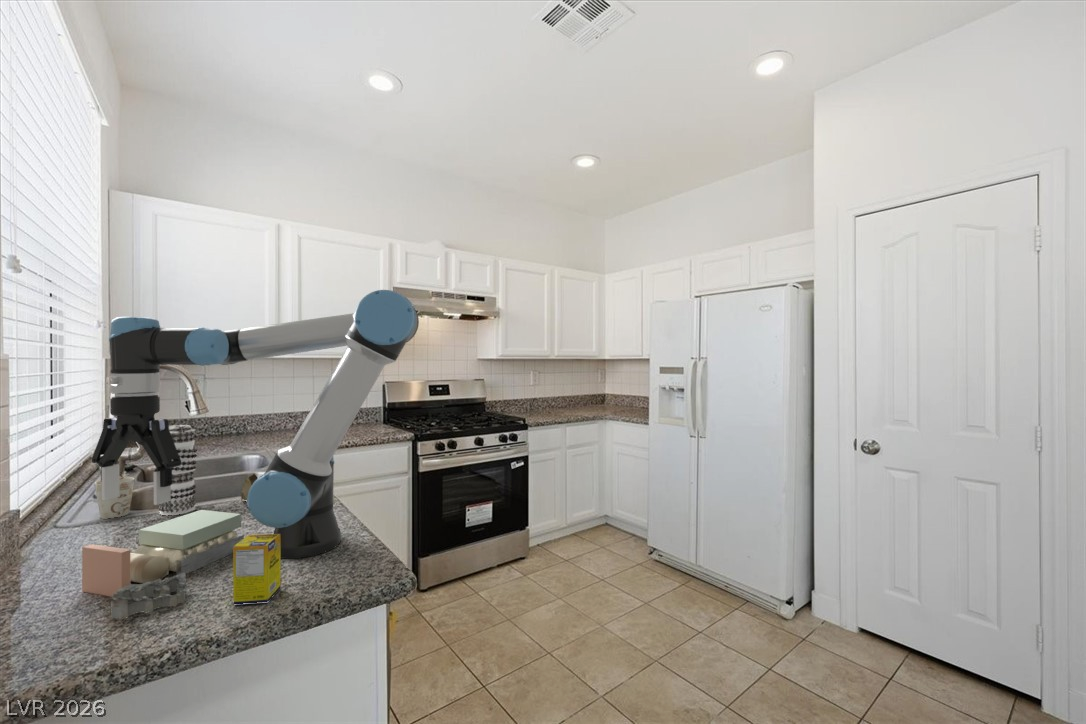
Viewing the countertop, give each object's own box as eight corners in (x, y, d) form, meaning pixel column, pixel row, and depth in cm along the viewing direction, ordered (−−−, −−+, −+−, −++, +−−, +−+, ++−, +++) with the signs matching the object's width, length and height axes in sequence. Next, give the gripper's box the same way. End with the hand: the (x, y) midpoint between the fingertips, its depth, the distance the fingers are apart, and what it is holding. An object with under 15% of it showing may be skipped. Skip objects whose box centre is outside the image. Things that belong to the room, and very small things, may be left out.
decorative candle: (153, 511, 137) (154, 425, 137) (192, 504, 144) (192, 422, 144) (161, 518, 131) (161, 429, 131) (200, 510, 139) (201, 425, 138)
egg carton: (106, 625, 80) (106, 600, 79) (114, 605, 86) (114, 583, 86) (185, 606, 86) (185, 583, 86) (187, 589, 92) (187, 568, 92)
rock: (230, 494, 147) (231, 497, 139) (249, 470, 151) (251, 471, 143) (262, 511, 152) (265, 515, 143) (280, 487, 155) (284, 489, 147)
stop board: (130, 594, 89) (130, 549, 89) (121, 598, 88) (121, 552, 88) (91, 587, 92) (91, 544, 92) (82, 591, 90) (82, 547, 90)
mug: (100, 522, 128) (100, 485, 128) (85, 514, 135) (85, 479, 135) (139, 514, 135) (139, 479, 135) (122, 506, 142) (122, 473, 142)
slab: (241, 526, 111) (241, 514, 111) (182, 549, 98) (182, 535, 98) (200, 522, 114) (201, 509, 114) (139, 543, 101) (139, 529, 101)
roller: (164, 582, 96) (171, 555, 97) (139, 586, 91) (147, 558, 92) (130, 576, 98) (138, 551, 99) (104, 580, 93) (112, 553, 95)
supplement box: (281, 588, 92) (281, 532, 92) (267, 604, 86) (268, 544, 86) (248, 590, 91) (248, 534, 91) (232, 606, 85) (232, 546, 85)
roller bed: (243, 548, 111) (243, 526, 111) (178, 577, 96) (178, 552, 96) (198, 542, 115) (198, 521, 115) (128, 569, 100) (128, 545, 100)
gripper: (67, 395, 94) (68, 501, 94) (164, 397, 88) (165, 510, 88) (110, 392, 101) (110, 491, 101) (202, 394, 95) (203, 499, 95)
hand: (136, 500), depth 95 cm, fingers open, 13 cm apart
